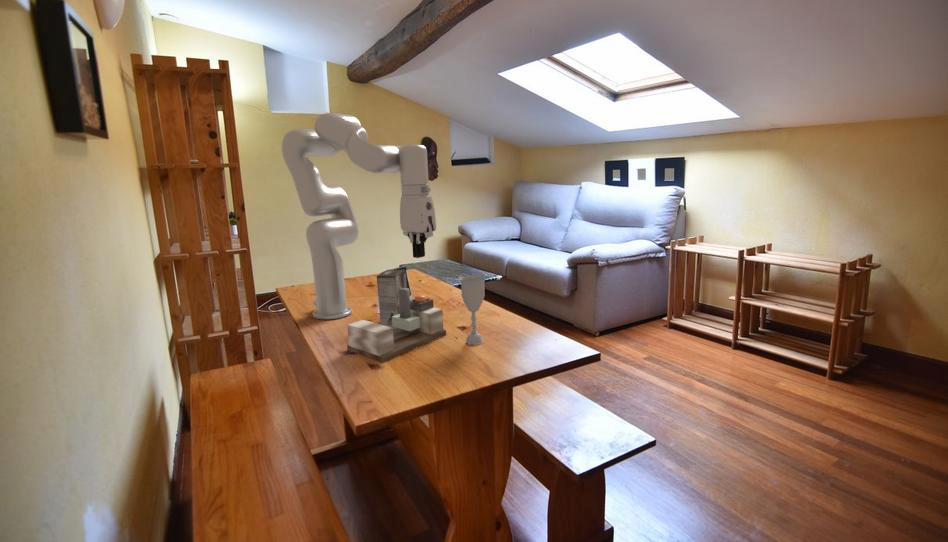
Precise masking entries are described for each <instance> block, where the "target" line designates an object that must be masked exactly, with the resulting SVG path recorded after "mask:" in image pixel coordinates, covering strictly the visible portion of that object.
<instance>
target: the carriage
mask: <svg viewBox="0 0 948 542" xmlns="http://www.w3.org/2000/svg"><path fill="white" fill-rule="evenodd" d="M398 292H399V308H400V314H398V315H395V316H392V327H391V328H399V329H403V330H406V331H412V330H415V329H417V328H420V318H419V317H417V316H413V315H411V310H410V300H411V297H410V288H408V287H407V288H400V289H398Z"/></svg>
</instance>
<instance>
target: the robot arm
mask: <svg viewBox="0 0 948 542" xmlns="http://www.w3.org/2000/svg"><path fill="white" fill-rule="evenodd" d="M313 126H314V128H295V129H291V130H288V131H287V132H286V133H285V134H284V136H283V138H282V142H281V154H282V158H283V160H284V163H285V165H286V167H287V169H288V170H289V172H290V175H291V176H292V180H293V183H294V187H295V190H296V193H297V195H298V199H299V202H300V205H301V208H302V210H303V213H305V215H307V216H309V217H314V218H315V217H323V216H331V217H330V218H324V219H318V220H314V221H313V222H311V223H310V224H309V225H308V227H307V228H306V231H305V236H306V241H307V244H308V247H309V251H310V257H311V262H312V263H311V265H312V270H313V271H312V272H313V281H314V282H313V283H314V292H315V300H313V302H312V305H313V306H315V310H313V312H312V317H313V318H314V319H316V320H317V319H318V320H335V319H336V320H337V319H340V318H344V317H347V316H349V315H351V314H352V312H353V309H352V307H350V306H349V305H347V293H346V284H345V272H344V262H343V261H344V260H343V259H342V256H341V255H340V253H339V252H338V250H337V248H339V247H343V246H348V245H351V244H354V243H355V242H356V241H357V239H358V238H359V237H358V236H359V228H358V227H359V226H358V224H357V220H356V217H355V213H354V210H353V207H352V204H351V201H350V198H349V196H348V194H347V192H346V191H345V190H344V189H343V188H342V187H341V186H339V185H325V183H324V182H323V179H322V175H321V172H320V171H319V169H318V167H317V166H316V165H315V164H314V163H313V162H312V161H311V160H310V158H311V157H315V158H317V157H318V158H320V157H321V158H322V157H325V158H327V157H328V158H329V157H333V156H336V155H337V154H339V153H341V152H342V151H344V152H345V153H347V156H348V158H349V160H350V161H351V163H353V164H354V165H355V166H358V167H359V168H361V169H363V170H364V171H366V172H369V173H372V174H376V175H379V174H399V175H400V186H401V187H400V190H401V196H400V201H399V202H400V203H399V204H400V205H399V217H400V218H399V221H400V222H399V223H400V229H401V231H402V235H403V236H406V237H408V239H409V241H410V244H411V246H412V257H413V258H415V259H420V258H424V257H425V256H426V249H425V243H426V242H427V240H428V239H429V238H433V237H434V232H435V231H436V230H437V220H436V218H437V217H436V211H435V206H434V201H433V200H434V199H433V198H432V195H430V192H431V187H430V185H429V166H428V165H429V164H428V151H427V147H426V146H425V145H423V144H405V145H389V144H388V145H386V144H381V145H379V144H374V143H372V142H369V134H368V132H367V131H366V129H365V128H364V127H362V125H361V122H360V121H359V119H358V118H357V117H355V116H354V115H351V114H349V113H347V114H346V113H337V112H336V113H335V112H324V113H323V114H320V115H318V116H317V118H316V119H315V120H314V125H313Z"/></svg>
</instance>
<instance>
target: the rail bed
mask: <svg viewBox="0 0 948 542" xmlns="http://www.w3.org/2000/svg"><path fill="white" fill-rule="evenodd" d="M410 310H411V315H413V316H417V317H419V318H420V328H417V329H415V330H412V331H406V330H403V329H399V328H395V327H388V326H384V325H380V323H378V322H377V323H376V322H372V321H369V320H365V319H360V320H356V321H353V322H351V323H348V324H347V334H348V344H347V345H346V346H347V347H346V348H347V351H348V352H350V351H351V353H353V352H355V353H354V354H356V353H357V354H356V355H359V354H360V355H359V356H362V355H363V356H362V357H365V356H366V357H365V358H368V359H371V360H373V359H375V360H374V361H376V360H377V362H379V361H380V363H384V361H385V362H387V361H389V360H391V358H392V359H394V358H396V357H398V355H399V356H401V355H403V354H405V352H406V353H408V352H410V351H412V349H413V350H415V349H416V347H417V348H419V346H420V347H422V346H424V345H426V343H427V344H428V342H429V343H431V342H433V341H436V340H438V339H439V337H440V338H442V336H443V337H445V336H446V335H447V330H446V329H445V328H444V316H443V315H444V314H443V309H442V308H438V307H434V299H431V298H427V297H426V301H425V302H422V303H419V302H415V298H414V299H410ZM444 335H445V336H444ZM437 338H438V339H437ZM435 339H436V340H435ZM432 340H433V341H432ZM430 341H431V342H430ZM423 344H424V345H423ZM421 345H422V346H421ZM414 348H415V349H414Z"/></svg>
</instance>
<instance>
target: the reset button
mask: <svg viewBox="0 0 948 542" xmlns="http://www.w3.org/2000/svg"><path fill="white" fill-rule="evenodd" d="M426 298H427V295H426V294H417V295H415V296H414V299H415V302H419V303H422V302H425V301H426Z"/></svg>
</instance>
